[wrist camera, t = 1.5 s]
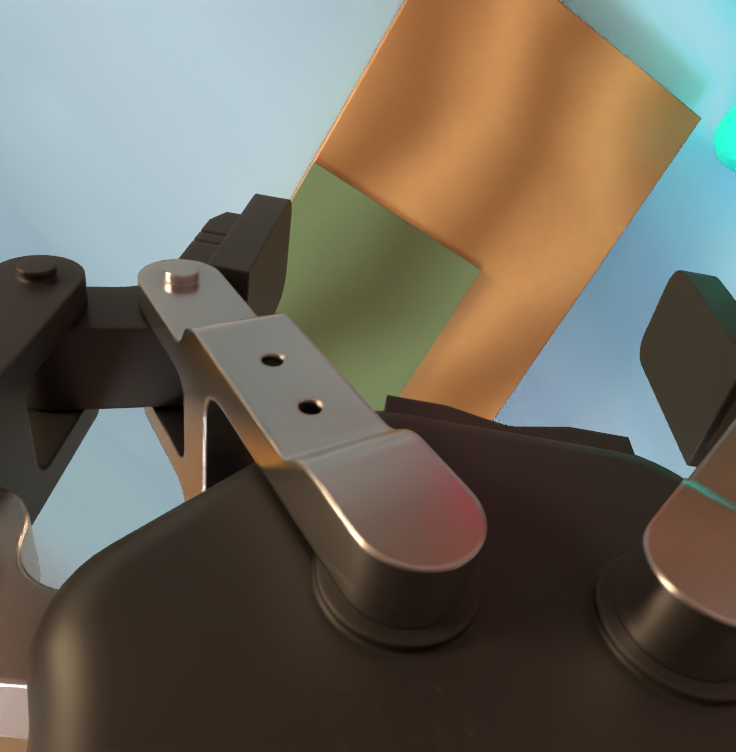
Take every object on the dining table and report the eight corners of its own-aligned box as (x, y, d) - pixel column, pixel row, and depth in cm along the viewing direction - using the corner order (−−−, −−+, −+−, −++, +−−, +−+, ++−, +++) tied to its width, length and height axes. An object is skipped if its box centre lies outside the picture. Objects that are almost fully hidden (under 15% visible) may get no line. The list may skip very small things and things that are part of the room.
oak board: (215, 329, 32) (212, 339, 30) (446, -74, 28) (456, -88, 26) (451, 457, 35) (460, 472, 34) (683, 119, 32) (705, 118, 30)
